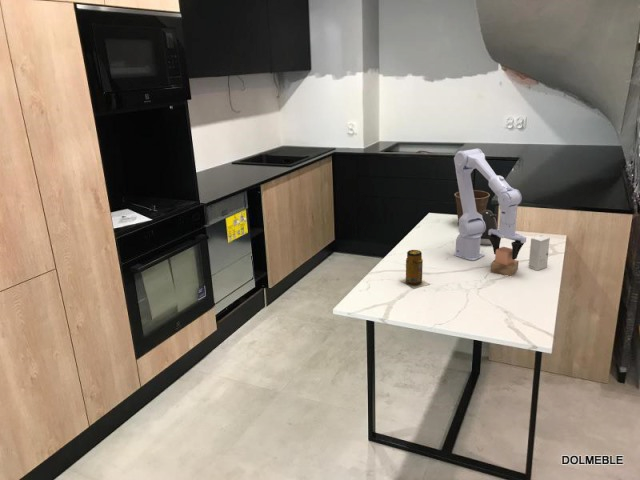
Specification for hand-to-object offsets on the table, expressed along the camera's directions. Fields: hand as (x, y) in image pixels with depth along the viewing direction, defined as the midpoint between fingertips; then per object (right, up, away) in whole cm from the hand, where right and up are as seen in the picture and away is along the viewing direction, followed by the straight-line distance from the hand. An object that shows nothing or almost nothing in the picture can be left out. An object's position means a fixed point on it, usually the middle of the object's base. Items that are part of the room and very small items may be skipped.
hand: (505, 256), depth 192 cm
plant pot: (+3, +13, +55) cm, 57 cm away
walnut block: (0, -6, +2) cm, 6 cm away
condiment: (-35, -10, -4) cm, 37 cm away
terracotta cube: (0, -2, +1) cm, 2 cm away
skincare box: (+14, -5, +4) cm, 15 cm away
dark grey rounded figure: (+3, +5, +32) cm, 32 cm away
